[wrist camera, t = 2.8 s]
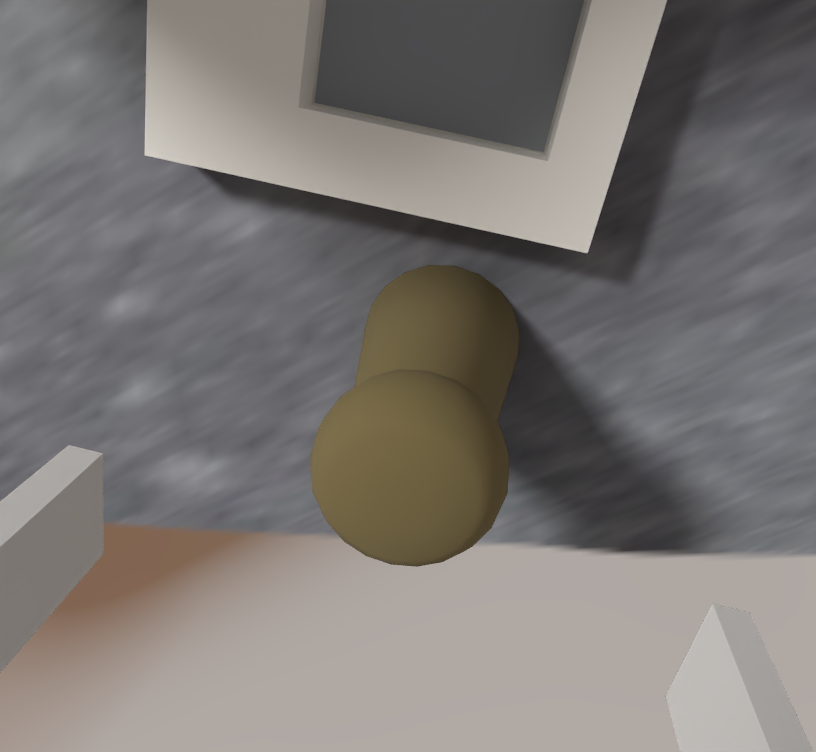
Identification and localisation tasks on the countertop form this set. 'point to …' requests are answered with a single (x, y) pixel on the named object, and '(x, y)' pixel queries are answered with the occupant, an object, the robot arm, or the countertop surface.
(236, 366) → the countertop surface
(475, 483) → the cork
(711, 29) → the countertop surface
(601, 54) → the socket plate
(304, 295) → the countertop surface
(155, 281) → the countertop surface
